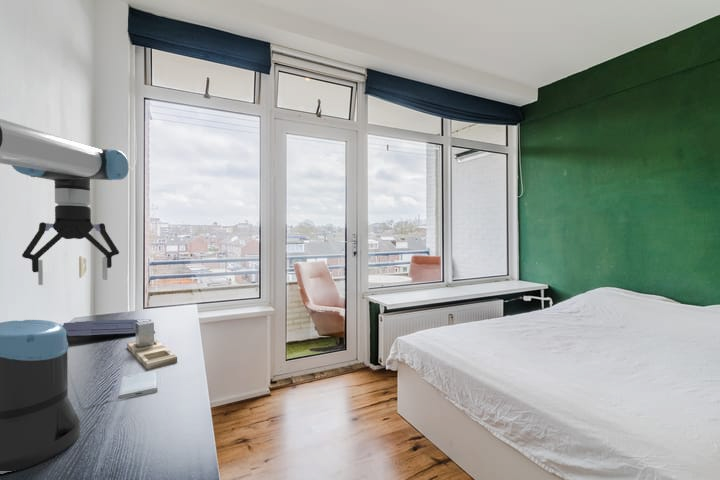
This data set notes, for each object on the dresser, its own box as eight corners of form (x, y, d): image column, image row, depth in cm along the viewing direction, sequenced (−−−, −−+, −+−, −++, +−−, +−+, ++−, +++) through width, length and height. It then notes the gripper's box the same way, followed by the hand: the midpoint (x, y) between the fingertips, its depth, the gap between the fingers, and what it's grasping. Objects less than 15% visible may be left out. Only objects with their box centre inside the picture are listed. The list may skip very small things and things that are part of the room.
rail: (177, 363, 103) (177, 356, 103) (147, 371, 97) (147, 363, 97) (153, 343, 121) (153, 337, 121) (127, 349, 115) (127, 343, 115)
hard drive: (122, 376, 91) (118, 395, 81) (157, 369, 95) (157, 386, 85) (122, 382, 91) (118, 401, 81) (157, 375, 95) (157, 393, 85)
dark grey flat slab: (63, 328, 136) (65, 319, 136) (149, 325, 153) (151, 317, 154) (54, 344, 116) (56, 334, 116) (154, 339, 134) (155, 330, 134)
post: (154, 348, 114) (153, 322, 114) (139, 352, 111) (138, 325, 110) (150, 345, 117) (150, 320, 117) (135, 348, 114) (135, 322, 113)
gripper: (124, 208, 104) (125, 276, 104) (8, 203, 86) (9, 285, 86) (130, 207, 98) (130, 278, 99) (7, 201, 81) (9, 288, 81)
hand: (74, 281), depth 93 cm, fingers open, 13 cm apart
